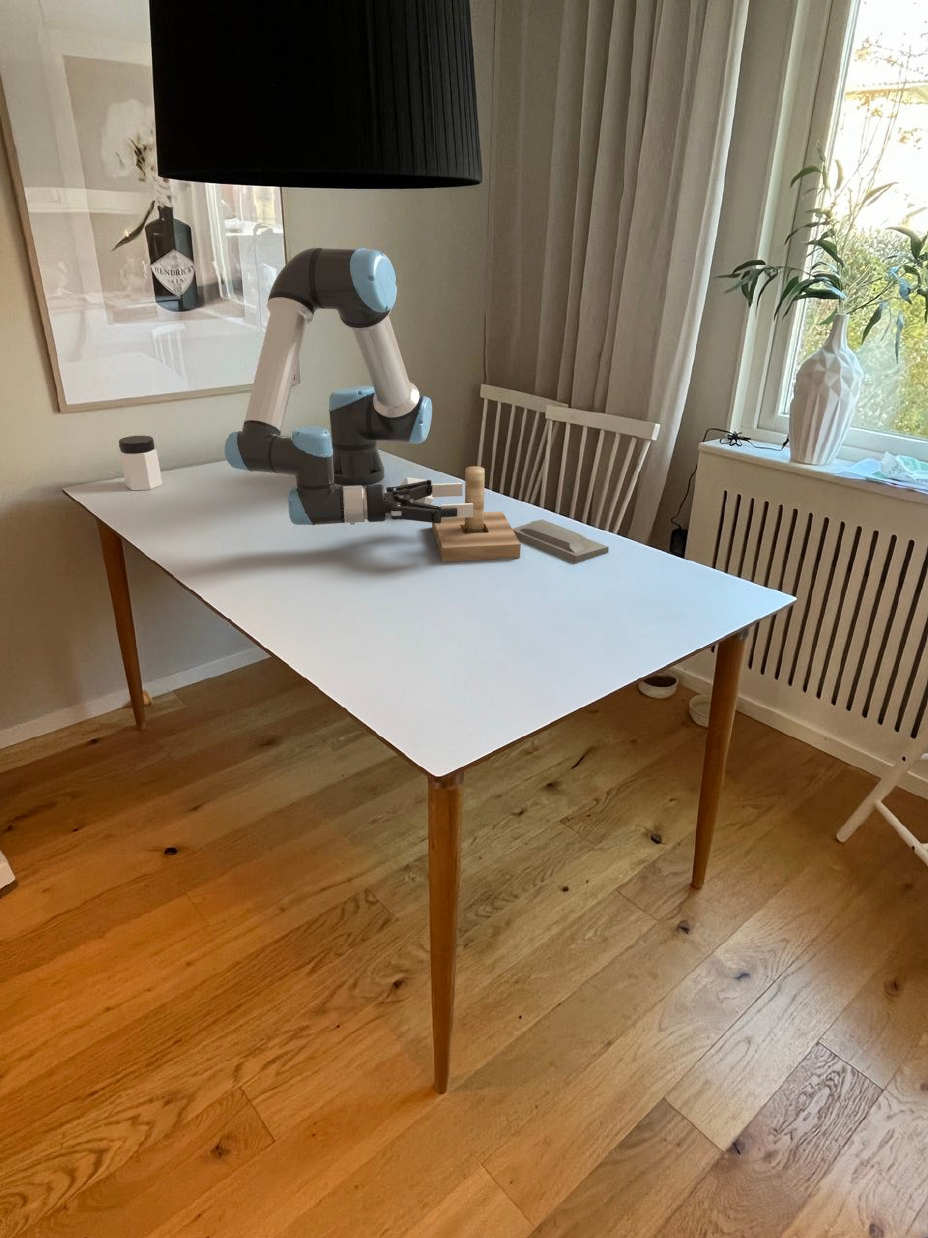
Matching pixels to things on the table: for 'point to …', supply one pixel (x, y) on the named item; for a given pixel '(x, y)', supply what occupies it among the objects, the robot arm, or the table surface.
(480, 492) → the oak leg
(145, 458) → the jar
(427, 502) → the die
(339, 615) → the table surface
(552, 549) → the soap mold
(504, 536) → the board
